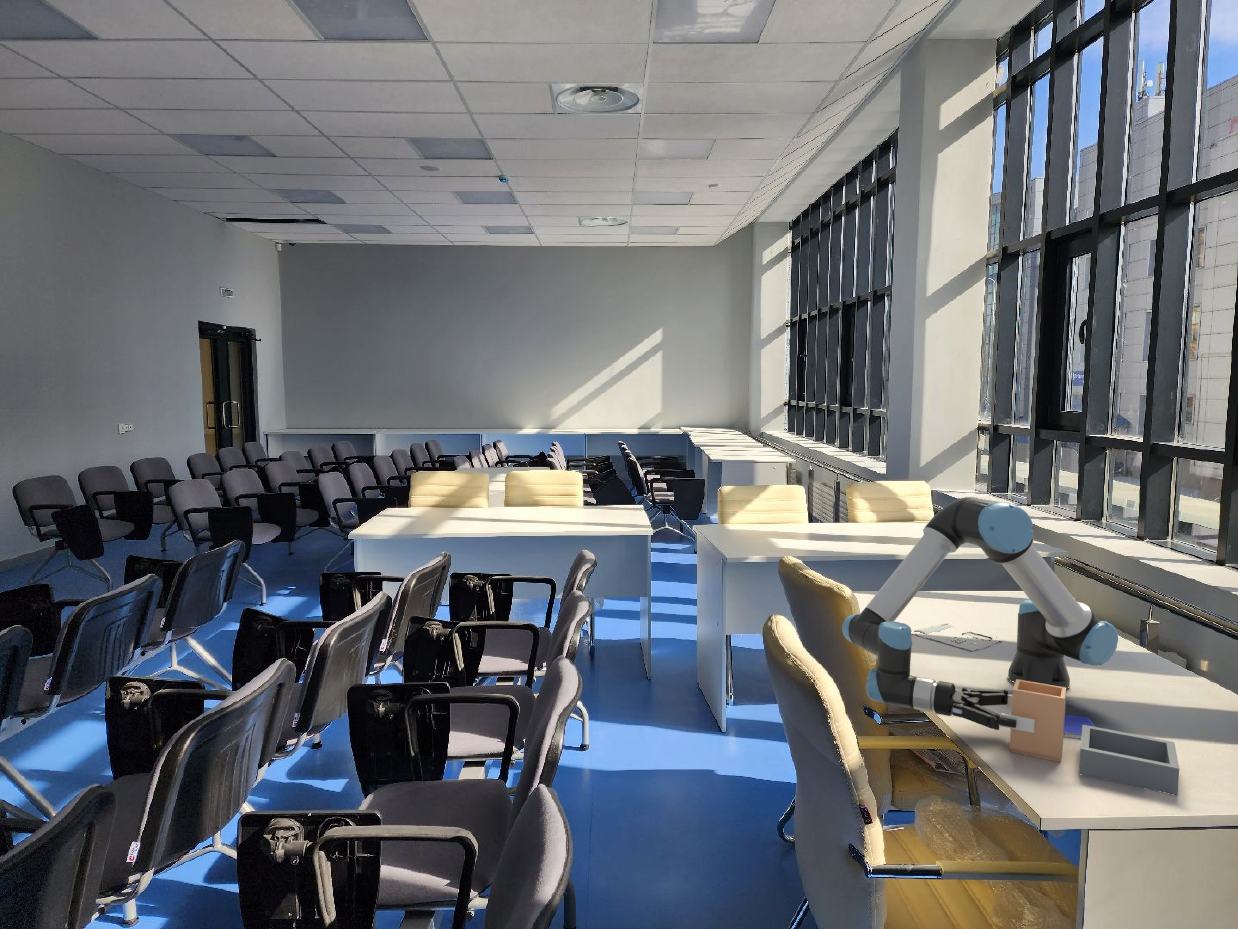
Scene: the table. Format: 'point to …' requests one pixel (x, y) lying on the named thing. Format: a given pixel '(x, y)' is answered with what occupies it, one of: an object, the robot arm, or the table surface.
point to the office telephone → (940, 628)
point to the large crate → (1129, 759)
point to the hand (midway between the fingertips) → (1036, 716)
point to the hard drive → (1075, 725)
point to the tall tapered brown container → (1039, 719)
